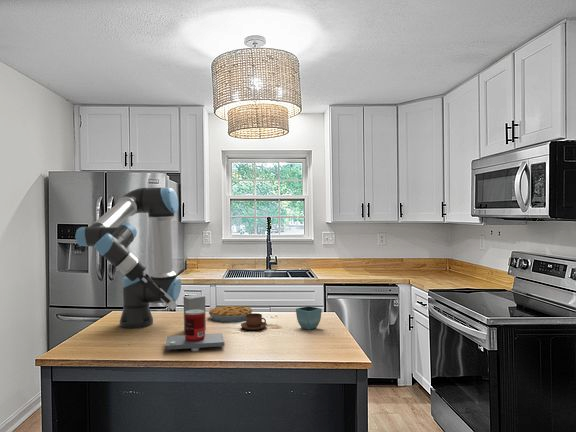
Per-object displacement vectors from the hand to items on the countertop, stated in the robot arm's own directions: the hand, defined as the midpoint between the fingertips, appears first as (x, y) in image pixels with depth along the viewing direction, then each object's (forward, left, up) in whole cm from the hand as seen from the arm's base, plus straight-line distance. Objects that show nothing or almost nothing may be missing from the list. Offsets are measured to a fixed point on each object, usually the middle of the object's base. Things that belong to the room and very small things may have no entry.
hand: (172, 304), depth 183 cm
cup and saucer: (-27, +35, -18) cm, 47 cm away
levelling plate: (-2, +9, -17) cm, 20 cm away
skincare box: (-28, +9, -18) cm, 34 cm away
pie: (-51, +27, -18) cm, 60 cm away
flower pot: (-21, +60, -18) cm, 65 cm away
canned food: (-2, +8, -15) cm, 17 cm away
